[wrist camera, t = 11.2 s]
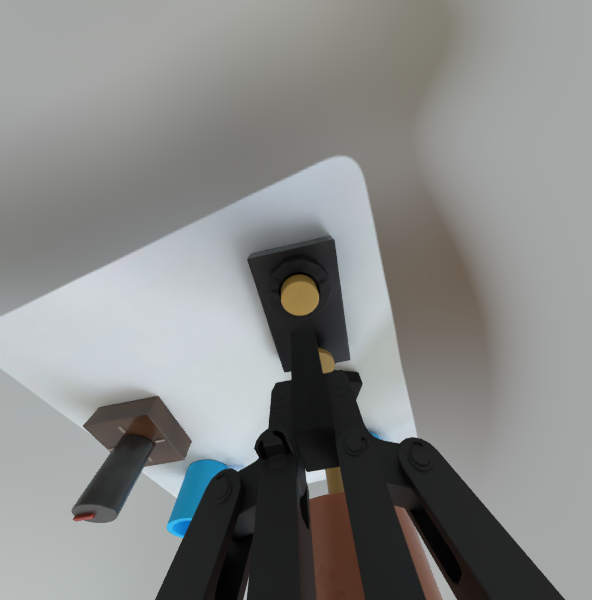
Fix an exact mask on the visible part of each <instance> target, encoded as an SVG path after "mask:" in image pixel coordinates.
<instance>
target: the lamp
mask: <svg viewBox="0 0 592 600" xmlns="http://www.w3.org/2000/svg"><path fill="white" fill-rule="evenodd" d="M318 351H319V355H320V360H321V365H322V370H323V373H328V372H333V370H334V368H335V362H334V359H333V356H332V354H331V353H330V352H329V351H327V350H325V349H322V348H318ZM325 471H326V478H327V485H328V492H329V494H327V495H323V496H319V497H315V498H312V499H309V502H310V516H311V530H312V543H313V557H314V571H315V584H316V598H317V600H365V597H364V592H363V586H362V581H361V576H360V571H359V565H358V560H357V555H356V550H355V544H354V539H353V534H352V529H351V523H350V518H349V513H348V508H347V502H346V497H345V492H344V487H343V482H342V476H341V471H340V467H335V468H329V469H325ZM394 507H395V510H396V513H397V516H398V519H399V522H400V525H401V528H402V531H403V533H404V536H405V539H406V542H407V545H408V548H409V551H410V554H411V557H412V560H413V563H414V565H415V568H416V571H417V574H418V577H419V580H420V583H421V586H422V589H423V592H424V595H425V597H426V600H443V599H442V597H441V594H440V591H439V589H438V586H437V584H436V581H435V578H434V576H433V573H432V571H431V568H430V565H429V563H428V560H427V558H426V555H425V553H424V550H423V547H422V545H421V542H420V540H419V537H418V534H417V532H416V529H415V526H414V524H413V522H412V520H411V519H410V517H409V515H408V513H407V512H406V510H405V508H401V507H398V506H394Z"/></svg>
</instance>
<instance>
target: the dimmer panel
mask: <svg viewBox="0 0 592 600" xmlns="http://www.w3.org/2000/svg"><path fill="white" fill-rule="evenodd" d="M83 427H84V428H85V429H86V430H87V431H89V432H90V433H91V434H92V435H93V436H94V437H95V438H96V439H97V440H98V441H99V442H100V443H101V444H102V445H104V446H105V447H106V448H107V449H108V450H109V451H110V452H112V450H113V449H114V447H115V446H116V444H117V443H118V442H119V440H120V439H121V438H122V437H124V436H127V435H138V436H142V437H145V438H147V439H148V440H150V441H151V442H152V443H153V446H154V448H153V451H152V452H151V454H150V456H149V458H148V460H147V462H146V464H145V466H151V465H157V464H163V463H169V462H175V461H181V460H185V457H186V455H187V452H188V449H189V447H190V444H191V442H192V441H191V440H190V438H189V437H188V436H187V434H186V433H185V432H184V430H183V429H182V428H181V426H180V425H179V424H178V422H177V421H176V420H175V418H174V417H173V415H172V414H171V413H170V411H169V410H168V409H167V407H166V406H165V405H164V403H163V402H162V401H161V399H160V398H159V397H152V398H147V399H142V400H137V401H131V402H126V403H121V404H116V405H110V406H105V407H100V408H98V409H97V411H96V412H95V413H94V414H93V415H92V416H91V417H90V418H89V420H88V421H87V422H86V423H85V424H84V425H83ZM145 466H144V467H145Z"/></svg>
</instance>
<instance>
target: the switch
mask: <svg viewBox="0 0 592 600" xmlns="http://www.w3.org/2000/svg"><path fill="white" fill-rule="evenodd" d="M318 302H319V294H318V290H317V287H316V284H315V282H314V281H313V280H312V279H311V278H310V277H308V276H306V275H303V274H297V275H293V276H290V277H289V278H287V279H286V280H285V282H284V283H283V285H282V290H281V303H282V305H283V307H284V309H285V310H286V311H288V312H289V313H291V314H293V315H306V314H308V313H310V312H312V311H313V310H314V309H315V308H316V306H317V305H318Z"/></svg>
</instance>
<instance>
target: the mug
mask: <svg viewBox="0 0 592 600" xmlns="http://www.w3.org/2000/svg"><path fill="white" fill-rule="evenodd" d="M224 469H229V468H228V467H227V466H226V465H225V464H223V463H221V462H218V461H214V460H200V461H197V462H194V463H192V464H191V465H190V466H189V468H188V470H187V473H186V475H185V478H184V481H183V484H182V486H181V489H180V492H179V495H178V497H177V500H176V503H175V506H174V508H173V511H172V514H171V516H170V519H169V522H168V525H167V530H168V531H169V532H170V533H171V534H173V535H175V536H178V537H181V538H184V535H185V533H186V531H187V529H188V527H189V524H190V522H191V520H192V518H193V516H194V513H195V511H196V509H197V507H198V505H199V502H200V500H201V498H202V496H203V494H204V491H205V489H206V487H207V486H208V484H209V482H210V481H211V479H212V478H213V477H214V476H215V475H216V474H217V473H218V472H220V471H222V470H224Z"/></svg>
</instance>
